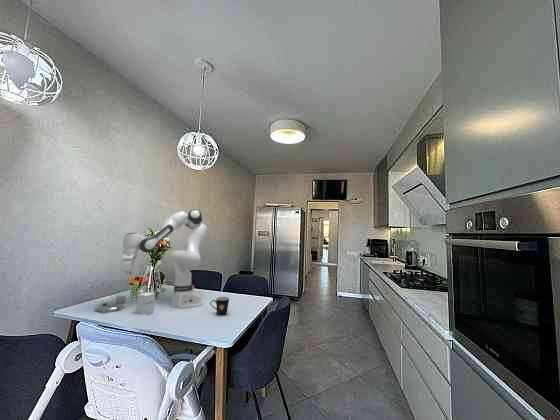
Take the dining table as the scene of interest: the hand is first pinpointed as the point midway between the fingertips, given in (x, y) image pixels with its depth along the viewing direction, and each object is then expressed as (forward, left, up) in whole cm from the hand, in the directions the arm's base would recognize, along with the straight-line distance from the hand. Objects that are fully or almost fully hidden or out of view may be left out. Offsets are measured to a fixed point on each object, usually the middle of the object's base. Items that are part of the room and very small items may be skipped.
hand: (128, 276), depth 164 cm
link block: (+3, +3, -18) cm, 18 cm away
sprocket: (+7, +6, -20) cm, 22 cm away
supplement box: (-14, +17, -21) cm, 30 cm away
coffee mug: (-60, +29, -21) cm, 70 cm away
